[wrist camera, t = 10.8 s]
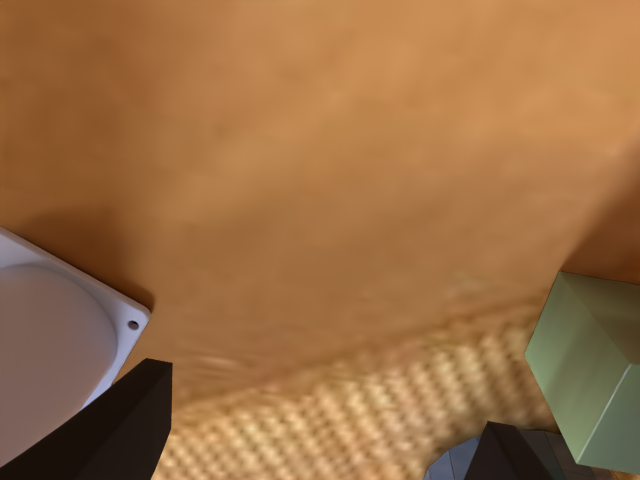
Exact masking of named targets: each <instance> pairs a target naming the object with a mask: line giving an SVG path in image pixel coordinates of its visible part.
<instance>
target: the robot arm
mask: <svg viewBox="0 0 640 480" xmlns="http://www.w3.org/2000/svg"><path fill="white" fill-rule="evenodd" d="M150 317H151V314H150V311H149V310H148V309H147V308H146V307H145V306H143V305H141V304H139V303H137V302H136V301H134V300H132V299H130V298H129V297H127V296H125V295H123V294H121V293H120V292H118V291H116V290H114V289H112V288H111V287H109V286H107V285H105V284H103V283H102V282H100V281H98V280H96V279H94V278H93V277H91V276H89V275H87V274H85V273H84V272H82V271H80V270H78V269H76V268H75V267H73V266H71V265H69V264H68V263H66V262H64V261H62V260H60V259H59V258H57V257H55V256H53V255H51V254H50V253H48V252H46V251H44V250H42V249H41V248H39V247H37V246H35V245H33V244H32V243H30V242H28V241H26V240H24V239H23V238H21V237H19V236H17V235H16V234H14V233H12V232H10V231H8V230H7V229H5V228H3V227H0V480H150V479H151V477H152V475H153V473H154V471H155V469H156V466H157V464H158V461H159V459H160V456H161V454H162V451H163V449H164V446H165V443H166V441H167V438H168V435H169V433H170V430H171V412H172V367H173V363H170V362H165V361H159V360H154V359H148V358H146V359H144V360H143V361H141V362H140V363H139V364H138V365H136V366H135V367H134V368H133V369H132V370H130V371H129V372H128V373H127V374H125V375H124V376H123V377H122V378H121V379H119V380H118V381H117V382H116V383H115V384H113V385H112V386H111V384H112V383H113V381H114V379H115V378H116V376H117V374H118V372H119V371H120V369H121V367H122V366H123V364H124V362H125V361H126V359H127V357H128V356H129V354H130V352H131V350H132V349H133V347H134V345H135V344H136V342H137V340H138V339H139V337H140V335H141V334H142V332H143V330H144V328H145V327H146V325H147V323H148V322H149V320H150ZM132 320H133V321H136V322H137V323H138V325H136V324H134V323H133V322H132ZM110 386H111V387H110ZM464 480H555V479H554V478H553V477H552V475H551V474H550V472H549V471H548V470H547V468H546V467H545V466H544V464H543V463H542V462H541V460H540V459H539V458H538V456H537V455H536V454H535V452H534V451H533V449H532V448H531V447H530V445H529V444H528V443H527V441H526V440H525V439H524V437H523V436H522V435H521V433H520V432H519V431H518V429H517V428H516V427H515V426H512V425H507V424H501V423H496V422H490V421H488V422H487V424H486V426H485V429H484V431H483V434H482V436H481V439H480V441H479V443H478V446H477V448H476V451H475V453H474V456H473V458H472V460H471V463H470V465H469V468H468V470H467V472H466V475H465V477H464Z"/></svg>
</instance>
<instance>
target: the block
mask: <svg viewBox="0 0 640 480" xmlns="http://www.w3.org/2000/svg"><path fill="white" fill-rule="evenodd" d="M524 356H525V358H526V360H527V362H528V364H529V366H530V368H531V370H532V373H533V375H534V377H535V379H536V381H537V383H538V385H539V387H540V389H541V391H542V393H543V395H544V398H545V400H546V402H547V404H548V406H549V408H550V410H551V412H552V414H553V416H554V418H555V420H556V423H557V425H558V427H559V429H560V431H561V433H562V435H563V437H564V439H565V441H566V443H567V445H568V448H569V450H570V452H571V454H572V456H573V458H574V460H575V462H576V463H577V464H581V465H586V466H592V467H598V468H603V469H609V470H614V471H620V472H626V473H631V474H637V475H640V285H635V284H629V283H623V282H618V281H612V280H606V279H600V278H595V277H589V276H583V275H577V274H572V273H566V272H559V273H558V275H557V278H556V280H555V283H554V285H553V287H552V290H551V292H550V294H549V297H548V299H547V302H546V304H545V306H544V309H543V311H542V314H541V316H540V318H539V321H538V323H537V325H536V328H535V330H534V333H533V335H532V337H531V340H530V342H529V344H528V347H527V349H526V352H525V354H524Z"/></svg>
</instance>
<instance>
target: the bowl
mask: <svg viewBox="0 0 640 480" xmlns="http://www.w3.org/2000/svg"><path fill="white" fill-rule="evenodd" d="M518 431H519V432H520V433H521V435H522V436H523V437H524V439H525V440H526V441H527V443H528V444H529V445H530V447H531V448H532V449H533V451H534V452H535V454H536V455H537V456H538V458H539V459H540V460H541V462H542V463H543V464H544V466H545V467H546V468H547V470H548V471H549V472H550V474H551V475H552V477H553V478H554V479H555V480H618V478H617V476H616V474H615V473H614V471H613V470H609V469H603V468H598V467H592V466H586V465H581V464H577V463H576V462H575V460H574V458H573V456H572V454H571V452H570V450H569V448H568V445H567V443H566V441H565V439H564V437H563V435H559V434H555V433H551V432H548V431H542V430H518ZM481 436H482V435H481ZM481 436H477V437H474V438H472V439H470V440H468V441H465V442H463V443H461V444H459V445H457V446H455V447H453V448H451V449H449V450H448V451H447V452H446V453H444V454H443V455H442V456H441V457H440V458H439V459H438V460H436V461H435V462H434V463H433V464H432V465H431V466H430V467H429V468H428V470H427V472H426V474H425V476H424V478H423V480H464V477H465V475H466V472H467V470H468V468H469V465H470V463H471V460H472V458H473V456H474V453H475V451H476V448H477V446H478V443H479V441H480V439H481Z"/></svg>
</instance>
